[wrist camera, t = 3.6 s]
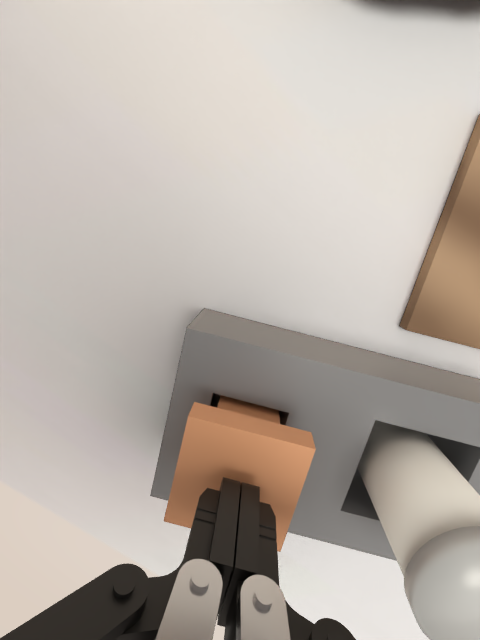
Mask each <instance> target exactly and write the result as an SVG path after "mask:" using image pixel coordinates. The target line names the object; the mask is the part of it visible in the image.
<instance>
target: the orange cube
mask: <svg viewBox="0 0 480 640" xmlns="http://www.w3.org/2000/svg"><path fill="white" fill-rule="evenodd" d="M315 450H316V448H315V444H314V440H313V437H312V433H311V432H308V431H305V430H301V429H297V428H293V427H289V426H285V425H282V424H280V417H279V410H276V409H272V408H268V407H264V406H261V405H257V404H253V403H249V402H245V401H241V400H238V399H234V398H230V397H226V396H222V395H221V396H220V399H219V403H218V406H217V408H216V407H212V406H208V405H205V404H201V403H197V402H194V404H193V406H192V408H191V411H190V413H189V415H188V419H187V423H186V427H185V432H184V436H183V440H182V444H181V449H180V453H179V457H178V462H177V466H176V470H175V474H174V479H173V483H172V487H171V492H170V496H169V500H168V504H167V509H166V513H165V517H164V521H165V522H169V523H173V524H176V525H180V526H184V527H188V528H191V527H192V523H193V520H194V516H195V512H196V508H197V504H198V500H199V497H200V495H201V494H202V493H203V492H204V491H205V490H206V489H207V488H210V489H214V490H218V491H219V489H220V486H221V482H222V479H223V477H225V478H229V479H232V480H236V481H240V482H244V483H248V484H252V485H255V486H259V487H260V502H263V503H267V504H270V505H271V508H272V510H273V512H274V514H275V516H276V534H277V540H276V542H277V551H279V552H280V551H281V548H282V545H283V542H284V540H285V537H286V534H287V531H288V528H289V525H290V522H291V519H292V517H293V514H294V511H295V508H296V505H297V502H298V499H299V496H300V494H301V491H302V488H303V485H304V482H305V479H306V476H307V473H308V470H309V468H310V465H311V462H312V459H313V456H314V453H315Z"/></svg>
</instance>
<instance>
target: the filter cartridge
mask: <svg viewBox="0 0 480 640" xmlns="http://www.w3.org/2000/svg"><path fill="white" fill-rule="evenodd" d="M357 468H358V470H359V473H360V475H361V477H362V480H363V482H364V484H365V487H366V489H367V491H368V494H369V496H370V498H371V501H372V503H373V506H374V508H375V510H376V513H377V515H378V517H379V520H380V522H381V524H382V527H383V529H384V531H385V534H386V536H387V538H388V541H389V543H390V545H391V548H392V550H393V552H394V555H395V557H396V559H397V562H398V564H399V566H400V569H401V571H402V573H403V576H404V588H405V593H406V596H407V599H408V601H409V604H410V606H411V609H412V611H413V614H414V616H415V618H416V621H417V623H418V625H419V627H420V629H421V630H422V631H423V633H424V634H425V635H426V636H427V637H428V638H429V639H430V640H480V495H479V494H478V493H477V492H476V491H475V490H474V488H473V487H472V486H471V485H470V484H469V483H468V481H467V480H466V479H465V478H464V477H463V476H462V475H461V473H460V472H459V471H458V470H457V469H456V468H455V467H454V465H453V464H452V463H451V462H450V461H449V460H448V458H447V457H446V456H445V455H444V454H443V453H442V452H441V450H440V449H439V448H438V447H437V446H436V445H435V443H434V442H433V441H432V440H431V439H430V438H429V437H428V435H427V434H426V433H423V432H419V431H415V430H412V429H408V428H404V427H400V426H396V425H392V424H388V423H385V422H381V421H377V420H375V423H374V425H373V428H372V430H371V433H370V435H369V438H368V441H367V443H366V446H365V448H364V451H363V454H362V456H361V459H360V461H359V464H358V466H357Z"/></svg>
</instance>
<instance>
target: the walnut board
mask: <svg viewBox="0 0 480 640" xmlns="http://www.w3.org/2000/svg"><path fill="white" fill-rule="evenodd" d="M400 327H402V328H404V329H405V330H408V331H412V332H416V333H420V334H423V335H427V336H431V337H435V338H439V339H443V340H447V341H451V342H455V343H458V344H462V345H466V346H470V347H474V348H478V349H480V114H479V117H478V119H477V122H476V125H475V127H474V130H473V132H472V135H471V138H470V140H469V143H468V146H467V148H466V151H465V154H464V156H463V159H462V162H461V164H460V167H459V169H458V172H457V175H456V177H455V180H454V183H453V185H452V188H451V191H450V193H449V196H448V199H447V201H446V204H445V207H444V209H443V212H442V214H441V217H440V220H439V222H438V225H437V228H436V230H435V233H434V236H433V238H432V241H431V244H430V246H429V249H428V251H427V254H426V257H425V259H424V262H423V265H422V267H421V270H420V273H419V275H418V278H417V281H416V283H415V286H414V288H413V291H412V294H411V296H410V299H409V302H408V304H407V307H406V310H405V312H404V315H403V318H402V320H401V323H400Z"/></svg>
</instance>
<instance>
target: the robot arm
mask: <svg viewBox="0 0 480 640" xmlns="http://www.w3.org/2000/svg"><path fill="white" fill-rule="evenodd" d="M276 540H277V534H276V516H275V514H274V512H273V510H272V508H271V505H270V504H267V503H263V502H260V487H259V486H255V485H252V484H248V483H244V482H240V481H236V480H232V479H229V478H225V477H223V479H222V482H221V486H220V489H219V491H218V490H214V489H210V488H207V489H206V490H205V491H204V492H203V493H202V494H201V495H200V497H199V500H198V504H197V508H196V512H195V516H194V520H193V523H192V527H191V531H190V535H189V539H188V543H187V547H186V551H185V555H184V559H183V561H182V563H181V565H180V566H179V567H178V568H177V569H176V570H175V571H173V572H172V573H170V574H168V575H165V576H161V577H152V578H148V577H147V575H146V573H145V572H144V571H143V570H142V569H141V568H140V567H138V566H136V565H133V564H121V565H117V566H115V567H113V568H111V569H110V570H108V571H106V572H105V573H103V574H102V575H100V576H99V577H97V578H95V579H94V580H92V581H91V582H89V583H87V584H86V585H84V586H83V587H81V588H80V589H78V590H76V591H75V592H73V593H72V594H70V595H68V596H67V597H65V598H64V599H62V600H60V601H59V602H57V603H56V604H54V605H52V606H51V607H49V608H48V609H46V610H44V611H43V612H41V613H40V614H38V615H37V616H35V617H33V618H32V619H30V620H29V621H27V622H26V623H24V624H23V625H21V626H19V627H18V628H16V629H15V630H13V631H11V632H10V633H8V634H6V635H5V636H3V637H2V638H0V640H212V639H213V634H214V629H215V624H216V620H217V616H218V625H220V626H224V627H225V635H224V640H356V639H355V638H354V637H353V635H352V634H351V633H350V632H349V630H348V629H347V628H346V627H345V626H343V625H342V624H341V623H339V622H338V621H336V620H333V619H329V618H323V619H320V620H318V621H317V622H316V623H315V624H313V623H312V622H310V621H309V620H307V619H306V618H304V617H303V616H301V615H299V614H298V613H297V612H295V611H294V610H293V609H292V608H291V607H290V606H289V604H288V603H287V602H286V600H285V597H284V595H283V592H282V591H281V589H280V586H279V576H278V555H277V542H276ZM218 614H219V615H218Z"/></svg>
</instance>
